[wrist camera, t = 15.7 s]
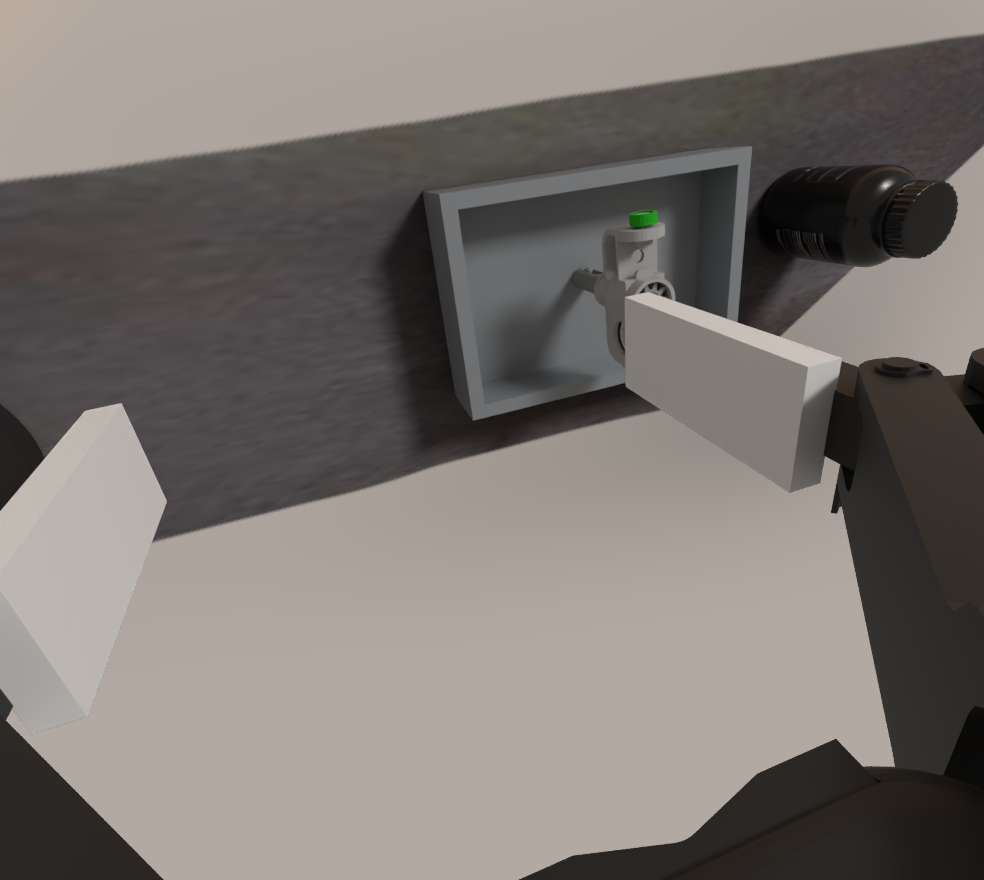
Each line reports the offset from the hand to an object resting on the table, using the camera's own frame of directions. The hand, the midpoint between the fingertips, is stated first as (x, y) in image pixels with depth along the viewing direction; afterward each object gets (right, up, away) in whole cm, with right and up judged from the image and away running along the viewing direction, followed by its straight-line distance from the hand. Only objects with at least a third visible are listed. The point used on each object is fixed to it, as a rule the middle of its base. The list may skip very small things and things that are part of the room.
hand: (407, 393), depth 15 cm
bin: (+9, +11, +29) cm, 32 cm away
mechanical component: (+9, +11, +28) cm, 31 cm away
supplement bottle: (+27, +18, +32) cm, 46 cm away
